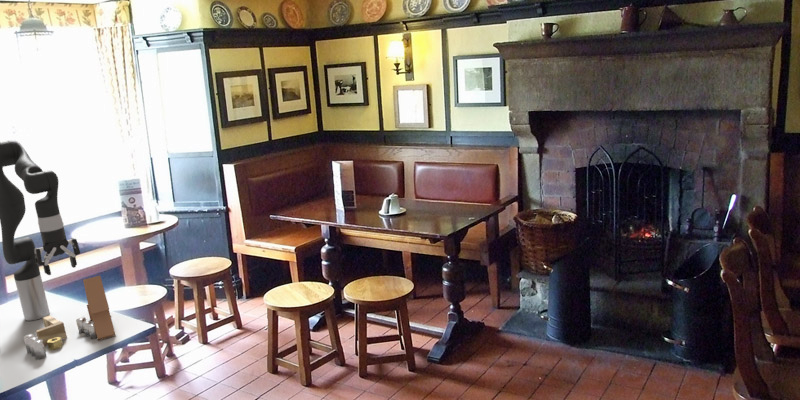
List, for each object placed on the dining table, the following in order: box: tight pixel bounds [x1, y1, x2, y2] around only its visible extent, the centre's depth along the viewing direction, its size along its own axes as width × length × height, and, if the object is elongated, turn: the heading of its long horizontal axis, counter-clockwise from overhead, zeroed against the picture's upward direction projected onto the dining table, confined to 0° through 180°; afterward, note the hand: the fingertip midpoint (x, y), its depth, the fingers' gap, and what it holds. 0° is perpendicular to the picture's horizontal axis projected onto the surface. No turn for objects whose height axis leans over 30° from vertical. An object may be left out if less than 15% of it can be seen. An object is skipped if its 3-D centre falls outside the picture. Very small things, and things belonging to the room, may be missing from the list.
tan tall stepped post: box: [82, 275, 116, 341], centre depth 248 cm, size 7×23×25 cm
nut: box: [47, 337, 64, 351], centre depth 234 cm, size 4×5×3 cm
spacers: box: [23, 316, 98, 361], centre depth 236 cm, size 14×22×6 cm, turn 137°
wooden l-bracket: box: [35, 314, 68, 347], centre depth 244 cm, size 14×9×6 cm, turn 47°
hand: (61, 270), depth 233 cm, fingers open, 8 cm apart
